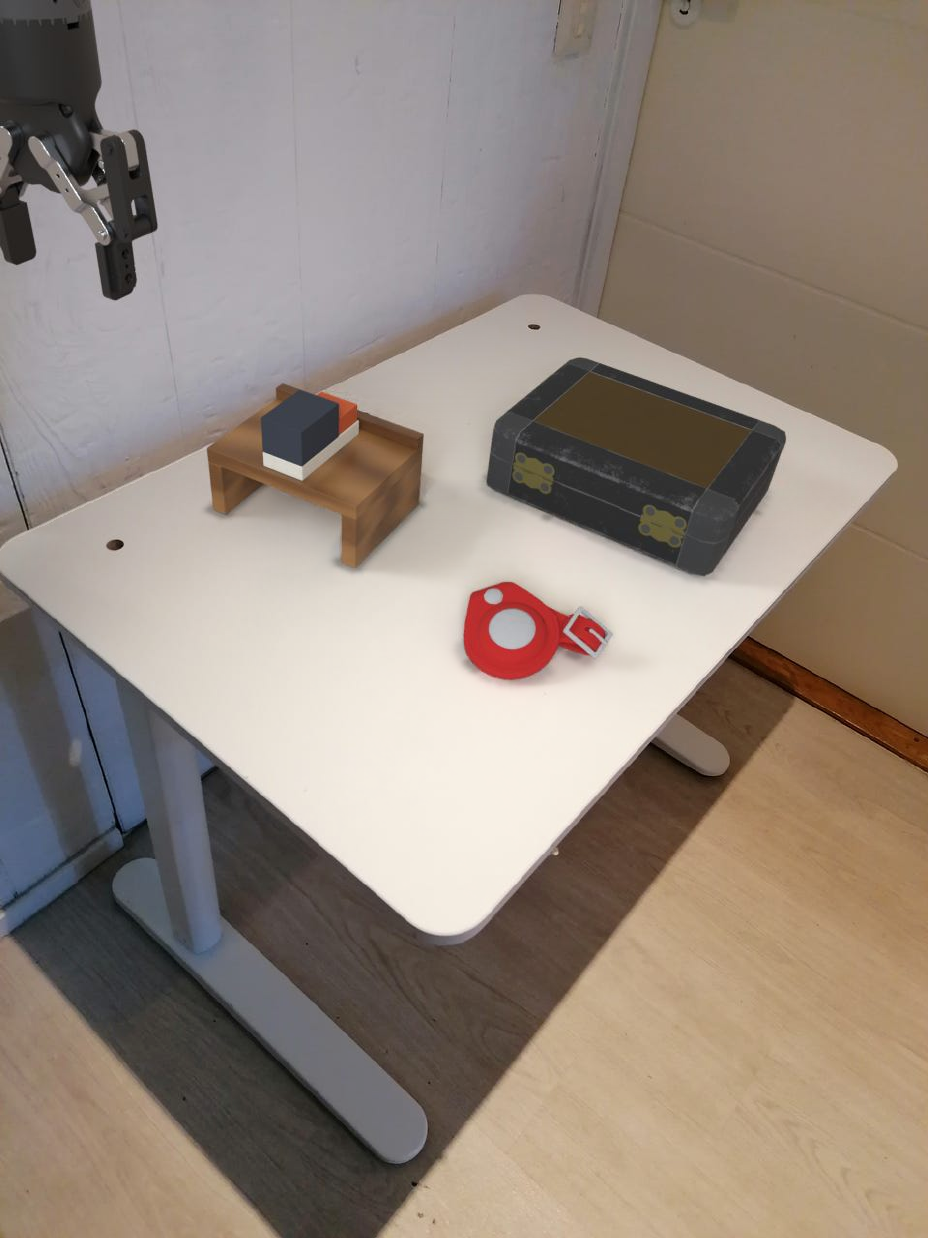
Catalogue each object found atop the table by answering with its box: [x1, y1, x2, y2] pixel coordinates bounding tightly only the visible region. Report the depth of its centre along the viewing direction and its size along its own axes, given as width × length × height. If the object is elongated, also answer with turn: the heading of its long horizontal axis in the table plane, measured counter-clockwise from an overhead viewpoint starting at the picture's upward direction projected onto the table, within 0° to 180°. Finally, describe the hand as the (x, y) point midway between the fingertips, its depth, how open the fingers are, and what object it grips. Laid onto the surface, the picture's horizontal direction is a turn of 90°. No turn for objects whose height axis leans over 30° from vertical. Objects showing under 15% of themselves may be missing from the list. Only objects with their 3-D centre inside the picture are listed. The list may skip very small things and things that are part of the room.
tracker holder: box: [463, 581, 614, 681], centre depth 83 cm, size 12×4×10 cm
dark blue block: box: [261, 389, 359, 481], centre depth 88 cm, size 10×4×5 cm, turn 153°
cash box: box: [486, 356, 787, 577], centre depth 100 cm, size 25×20×8 cm
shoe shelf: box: [206, 382, 425, 569], centre depth 92 cm, size 12×16×8 cm
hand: (69, 277), depth 65 cm, fingers open, 8 cm apart
